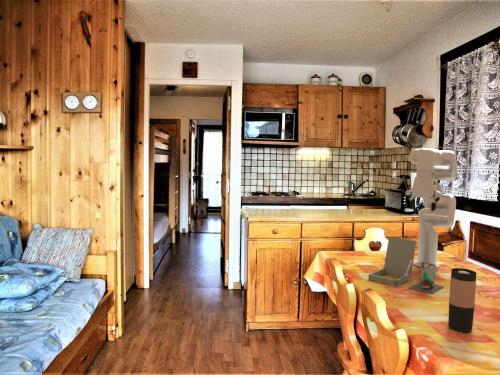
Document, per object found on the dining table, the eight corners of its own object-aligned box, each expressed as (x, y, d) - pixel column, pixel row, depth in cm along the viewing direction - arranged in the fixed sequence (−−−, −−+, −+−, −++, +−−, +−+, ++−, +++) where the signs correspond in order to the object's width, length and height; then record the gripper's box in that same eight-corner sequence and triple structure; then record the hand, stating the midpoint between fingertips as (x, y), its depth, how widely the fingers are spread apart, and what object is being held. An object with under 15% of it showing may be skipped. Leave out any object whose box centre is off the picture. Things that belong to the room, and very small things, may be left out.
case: (387, 271, 202) (389, 236, 201) (414, 277, 193) (416, 240, 192) (368, 279, 187) (370, 242, 186) (396, 286, 178) (398, 246, 176)
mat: (420, 281, 185) (420, 281, 185) (443, 287, 178) (443, 286, 178) (409, 288, 175) (409, 287, 175) (432, 294, 168) (432, 293, 168)
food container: (438, 292, 170) (439, 269, 169) (422, 290, 172) (423, 267, 171) (434, 283, 182) (435, 262, 181) (419, 282, 183) (421, 261, 183)
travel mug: (442, 324, 137) (446, 267, 136) (463, 323, 138) (467, 267, 136) (456, 333, 129) (460, 274, 128) (477, 333, 130) (482, 274, 129)
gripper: (446, 175, 187) (444, 211, 188) (409, 173, 199) (407, 207, 200) (441, 175, 182) (438, 212, 183) (403, 173, 193) (401, 208, 195)
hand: (422, 209), depth 191 cm, fingers open, 9 cm apart
